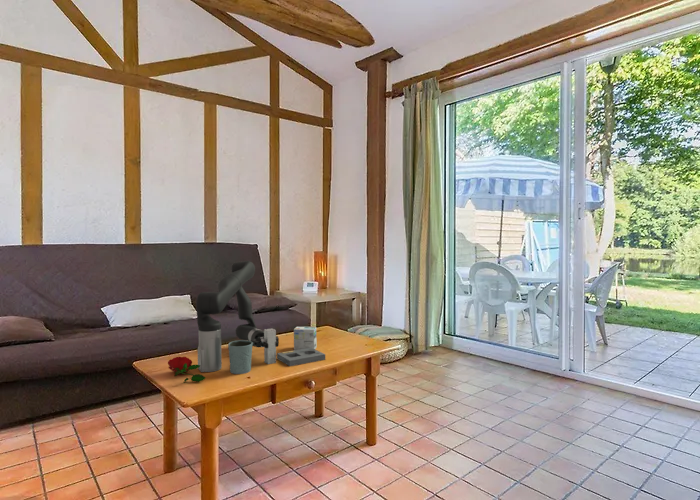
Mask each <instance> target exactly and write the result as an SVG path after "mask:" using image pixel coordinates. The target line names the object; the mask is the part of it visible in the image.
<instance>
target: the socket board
mask: <svg viewBox="0 0 700 500" xmlns="http://www.w3.org/2000/svg"><path fill="white" fill-rule="evenodd" d="M276 360H279V361H280V362H282V363H283V364H285V365H287V366H288V367H294V366H299V365H304V364H310V363H314V362H319V361H326V353H324V352H322V351H320V350H317V349H313V348H306V349H300V350H294V349H293V350H289V351H283V352H276Z"/></svg>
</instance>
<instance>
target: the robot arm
mask: <svg viewBox="0 0 700 500" xmlns="http://www.w3.org/2000/svg"><path fill="white" fill-rule="evenodd" d="M255 273H256V266H255V263H253V262H252V261H250V260H245V261H244V260H243V261H236V262H233V263H232V265H231V272H230V273H228V274H226V275H225V276H223V277H222V279H220V280H219V282H218V284H217V290H218V291H202V292H200V293H198V295H197V296H196V303H195V306H196V307H195V308H196V319H197V320H196V321H197V322H196V323H197V327H198V347H197V365H200V367H199V368H197V369H198V370H199V372H201V373H210V372H216V371H220V370H221V369H222V366H223V365H222V364H223V362H222V323H221V321H219V320H217V319H214V318H213V317H211V315H217V314H220V313H221V312H223V310H224V309H225V307H226V306H227V305H228V303H229V301H231V299H232V298H233V296H234V295H236V301H237V302H236V303H237V313H238V316H237V317H238V319H239V320H241V321H246V322H247V323H245V324H239V325H238V326H237V327H236V328H235V335H236V337H237V338H238V340H248V341H251V342H252V343H253V344H252V347H255V348H264V347H265V348H268V343H266V342H264V330H262V329H259V328H257V325H256V322H255V319H254V316H253V315H254V314H253V306H252V305H253V304H252V300H251V299H250V297H249V295H248V294H247V292H246V291H245V289H244V287H243V285H245V283H247V282H248V281H249V280H251V279H253V277H254V275H255ZM279 341H280V339H279V336H277V335H276V348H278V347H279V344H280V343H279Z"/></svg>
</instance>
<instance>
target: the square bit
mask: <svg viewBox="0 0 700 500" xmlns="http://www.w3.org/2000/svg"><path fill="white" fill-rule="evenodd" d="M263 331H264V342H266V343H268V348H265V347H263V351H264V353H263V356H264V357H263V360H264V363H265V364H266V365H272V364H277V347H276V336H277V330H276V329H275V328H267V329H266V328H264V330H263Z"/></svg>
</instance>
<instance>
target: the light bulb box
mask: <svg viewBox="0 0 700 500" xmlns="http://www.w3.org/2000/svg"><path fill="white" fill-rule="evenodd" d="M317 347H318V346H317V326H296V327H295V328H294V329H293V351H294V350H300V349H306V348H313V349H315V350H317Z"/></svg>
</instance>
